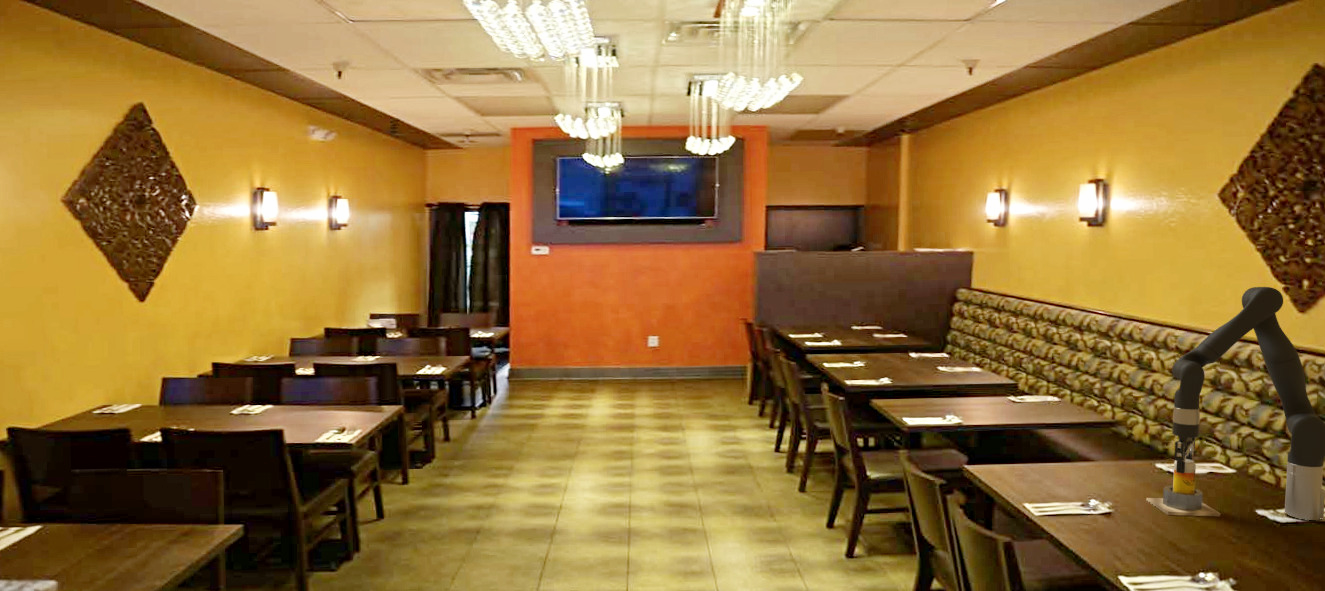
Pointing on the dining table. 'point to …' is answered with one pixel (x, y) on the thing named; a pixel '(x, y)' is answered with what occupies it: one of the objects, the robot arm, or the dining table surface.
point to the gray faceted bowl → (1182, 499)
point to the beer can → (1185, 478)
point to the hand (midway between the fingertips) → (1184, 470)
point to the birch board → (1172, 511)
